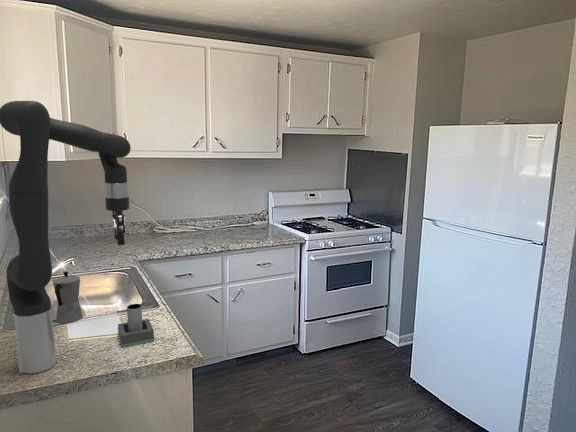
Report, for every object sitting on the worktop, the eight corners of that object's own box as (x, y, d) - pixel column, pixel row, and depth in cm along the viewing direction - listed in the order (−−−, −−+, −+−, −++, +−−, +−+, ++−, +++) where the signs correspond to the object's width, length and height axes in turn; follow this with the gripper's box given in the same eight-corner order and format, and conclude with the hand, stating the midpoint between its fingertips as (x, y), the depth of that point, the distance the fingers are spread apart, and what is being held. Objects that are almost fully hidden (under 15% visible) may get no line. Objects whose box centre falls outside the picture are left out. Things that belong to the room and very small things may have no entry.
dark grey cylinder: (126, 335, 143) (124, 306, 141) (139, 331, 146) (137, 302, 145) (132, 339, 140) (130, 310, 138) (145, 335, 143) (143, 306, 141)
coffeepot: (63, 311, 164) (59, 266, 161) (89, 311, 165) (86, 266, 162) (45, 329, 149) (40, 279, 146) (73, 328, 150) (69, 279, 147)
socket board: (121, 347, 137) (121, 336, 136) (118, 335, 146) (117, 323, 145) (154, 341, 141) (153, 330, 141) (148, 329, 150) (148, 318, 149)
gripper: (103, 193, 151) (106, 238, 154) (106, 199, 139) (110, 247, 141) (126, 192, 154) (128, 236, 157) (131, 197, 142) (133, 245, 145)
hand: (119, 242), depth 149 cm, fingers open, 8 cm apart
